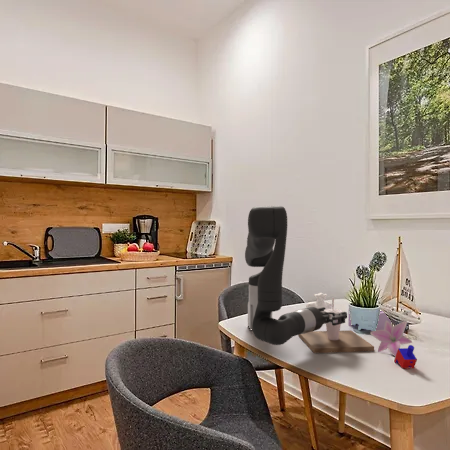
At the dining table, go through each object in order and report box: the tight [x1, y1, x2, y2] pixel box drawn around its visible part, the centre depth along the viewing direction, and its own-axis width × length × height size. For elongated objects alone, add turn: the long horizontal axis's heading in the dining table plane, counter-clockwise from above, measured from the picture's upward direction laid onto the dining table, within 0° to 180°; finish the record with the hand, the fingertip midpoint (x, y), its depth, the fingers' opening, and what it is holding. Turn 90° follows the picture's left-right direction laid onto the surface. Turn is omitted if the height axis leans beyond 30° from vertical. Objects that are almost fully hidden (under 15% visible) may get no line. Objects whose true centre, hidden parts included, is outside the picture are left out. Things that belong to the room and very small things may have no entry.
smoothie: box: [324, 297, 344, 340], centre depth 132 cm, size 6×6×14 cm
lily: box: [370, 320, 413, 358], centre depth 124 cm, size 12×12×10 cm
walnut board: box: [297, 329, 375, 354], centre depth 132 cm, size 20×18×2 cm
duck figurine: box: [305, 292, 332, 309], centre depth 170 cm, size 12×8×11 cm
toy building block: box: [393, 344, 418, 369], centre depth 111 cm, size 4×4×8 cm
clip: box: [347, 308, 391, 330], centre depth 153 cm, size 20×12×7 cm, turn 103°
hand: (334, 312), depth 133 cm, fingers open, 8 cm apart
